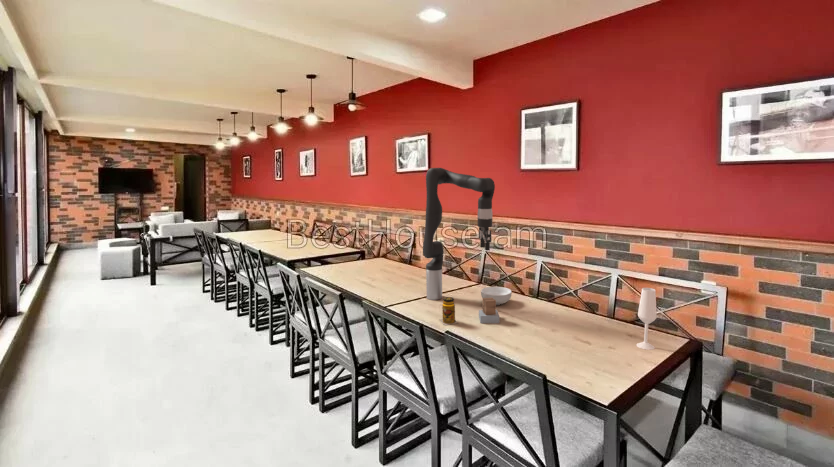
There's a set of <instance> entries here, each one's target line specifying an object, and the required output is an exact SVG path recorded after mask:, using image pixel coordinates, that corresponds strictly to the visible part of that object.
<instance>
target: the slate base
mask: <svg viewBox="0 0 834 467" xmlns="http://www.w3.org/2000/svg"><path fill="white" fill-rule="evenodd" d="M478 318H479V322H480V324H500V315H499V311H498V309H496V314H495V315H485V314H484V313H483V309H478Z"/></svg>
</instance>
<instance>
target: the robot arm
mask: <svg viewBox="0 0 834 467" xmlns="http://www.w3.org/2000/svg"><path fill="white" fill-rule="evenodd" d="M442 184H451V185H455V186H457V187H458V188H459V187H460V188H463V189H468V190H473V191H474V192H478V193H481V196H480V197H479V198H478V201H477V227H478V239H479V240H480V242H479V244H480V245H479V246H480V248H484V250H485V251H490V249H491V248H490V247H491V243H492V230H490V228H491V227H493V198H494V193H495V189H496V186H495V181H494V179H493V178H491V177H477V176H475V175H470V174H464V173H457V172H453V171H451V170H448V169H445V168H442V167H431V168H429V169H428V170H427V171H426V174H425V187H426V201H425V202H426V205H425V206H426V207H425V223H424V224H425V225H424V226H425V227H424V235H423V242H422V255H423V257H424V258H425V259H431V260H430V261H429V262H427V263H426V265H425V274H426V275H425V277H426V278H425V279H426V281H425V282H426V299H427V300H432V301H436V300H437V301H438V300H441V299H443V264H444V247H443V244H442V242H441V241H439V240H436V241H435V240H434V236H435V233H436V232H437V230H438V228H439V227H440V224H441V222H442V221H443V220H442V219H443V205H442V202H441V201H440V198H439V194H438V186H439V185H442Z"/></svg>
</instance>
